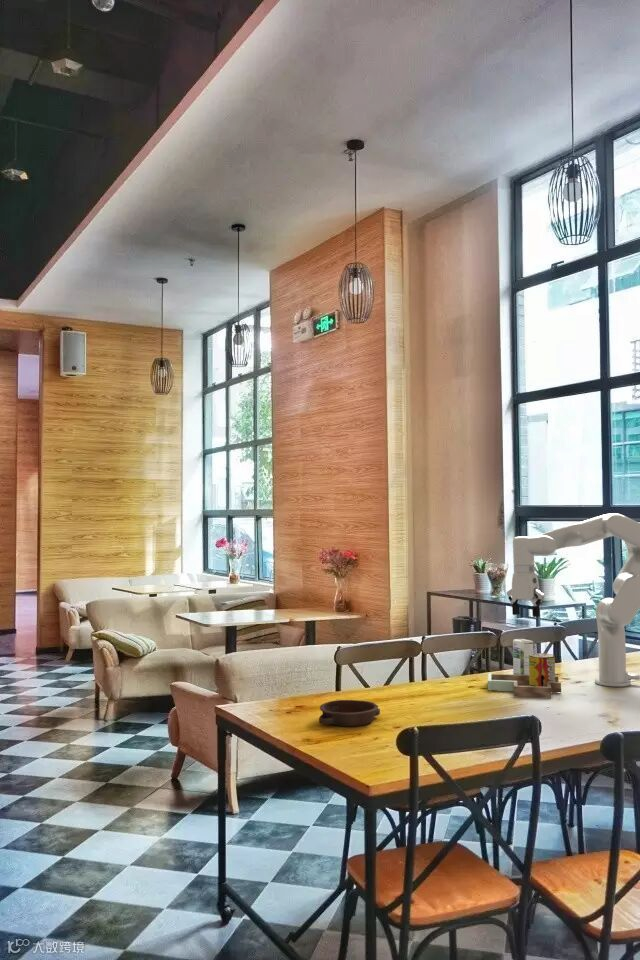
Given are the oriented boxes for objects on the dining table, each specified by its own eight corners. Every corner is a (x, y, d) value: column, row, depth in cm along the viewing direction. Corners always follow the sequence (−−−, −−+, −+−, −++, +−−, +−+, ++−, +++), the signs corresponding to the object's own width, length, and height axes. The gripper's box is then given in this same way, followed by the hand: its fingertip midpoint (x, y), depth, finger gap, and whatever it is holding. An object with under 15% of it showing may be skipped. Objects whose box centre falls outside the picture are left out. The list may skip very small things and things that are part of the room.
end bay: (516, 683, 297) (516, 674, 297) (517, 691, 283) (517, 681, 283) (488, 682, 299) (488, 673, 299) (487, 690, 285) (487, 680, 285)
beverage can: (529, 690, 285) (528, 656, 285) (530, 685, 293) (529, 652, 294) (555, 692, 282) (554, 657, 283) (555, 687, 291) (554, 653, 291)
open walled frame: (558, 685, 293) (558, 676, 293) (563, 698, 272) (562, 688, 272) (491, 683, 298) (491, 673, 298) (491, 695, 277) (491, 685, 277)
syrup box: (512, 676, 310) (511, 639, 311) (524, 675, 312) (524, 638, 313) (522, 679, 305) (521, 641, 306) (534, 678, 307) (533, 640, 308)
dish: (303, 722, 243) (302, 705, 243) (359, 711, 256) (359, 695, 256) (337, 734, 229) (337, 716, 229) (395, 722, 242) (395, 705, 242)
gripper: (549, 569, 293) (551, 616, 292) (513, 568, 307) (515, 612, 307) (535, 571, 289) (537, 618, 288) (499, 569, 303) (501, 614, 302)
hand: (525, 615), depth 297 cm, fingers open, 9 cm apart
